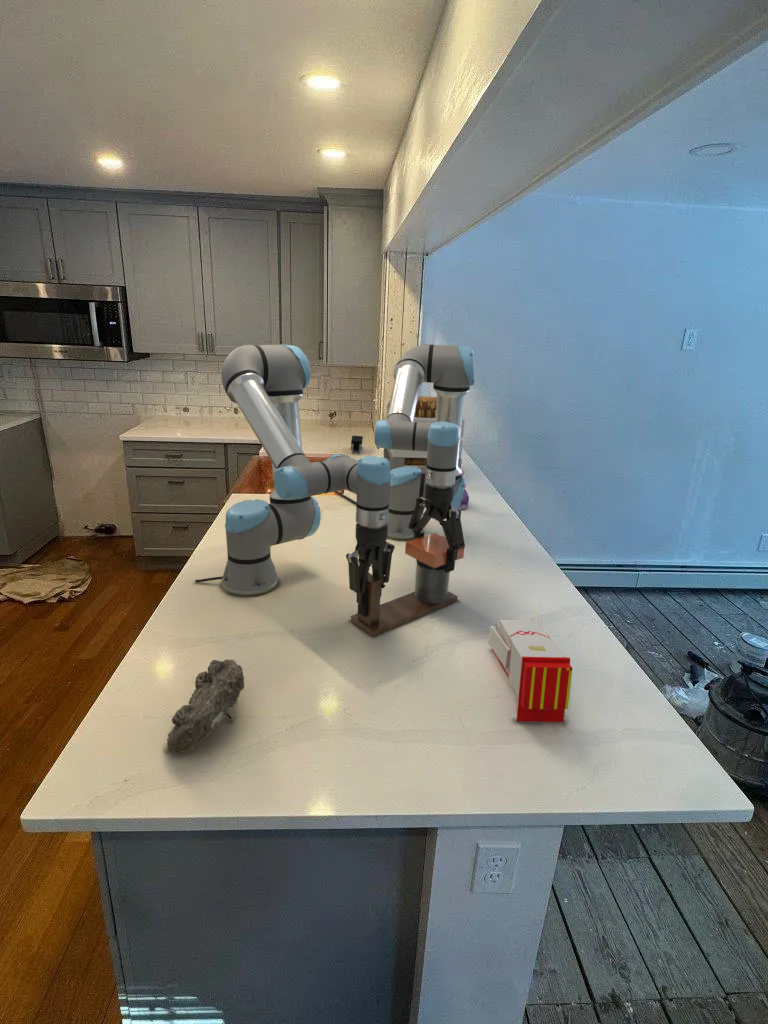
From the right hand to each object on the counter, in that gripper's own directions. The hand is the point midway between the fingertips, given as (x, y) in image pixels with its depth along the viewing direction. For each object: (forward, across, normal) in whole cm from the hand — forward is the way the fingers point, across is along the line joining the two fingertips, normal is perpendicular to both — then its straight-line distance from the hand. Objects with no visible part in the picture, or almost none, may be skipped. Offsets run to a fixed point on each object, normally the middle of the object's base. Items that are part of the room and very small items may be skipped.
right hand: (433, 563), depth 151 cm
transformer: (+11, -94, +86) cm, 128 cm away
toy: (+11, +37, -9) cm, 40 cm away
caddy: (+11, 0, -9) cm, 14 cm away
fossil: (+11, +8, -66) cm, 68 cm away
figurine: (+11, -49, +65) cm, 82 cm away
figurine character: (+11, -144, +87) cm, 169 cm away
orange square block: (-1, 0, 0) cm, 1 cm away
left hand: (+7, 0, -22) cm, 23 cm away
